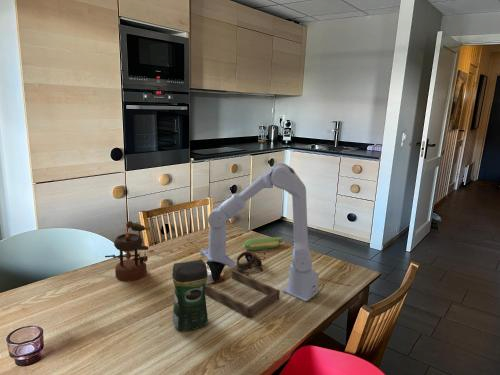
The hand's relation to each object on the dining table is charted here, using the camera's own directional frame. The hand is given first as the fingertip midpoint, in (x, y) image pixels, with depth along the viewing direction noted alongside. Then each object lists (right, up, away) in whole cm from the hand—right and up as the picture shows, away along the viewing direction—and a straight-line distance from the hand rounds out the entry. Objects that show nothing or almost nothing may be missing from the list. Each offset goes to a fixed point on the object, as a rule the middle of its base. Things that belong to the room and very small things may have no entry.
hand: (216, 280), depth 125 cm
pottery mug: (+11, +1, +13) cm, 17 cm away
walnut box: (+9, -4, -7) cm, 11 cm away
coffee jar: (-6, -7, -22) cm, 23 cm away
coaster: (-5, 0, +4) cm, 6 cm away
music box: (-31, +1, +4) cm, 32 cm away
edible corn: (+18, +5, +33) cm, 38 cm away
